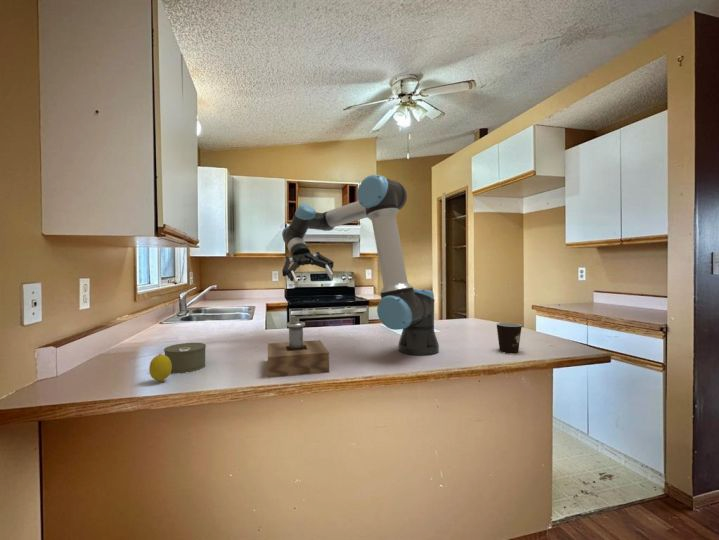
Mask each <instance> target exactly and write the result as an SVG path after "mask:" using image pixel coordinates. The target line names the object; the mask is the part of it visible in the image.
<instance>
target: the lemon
mask: <svg viewBox="0 0 719 540" xmlns="http://www.w3.org/2000/svg"><path fill="white" fill-rule="evenodd" d="M148 368H149V369H148V371H149V375H150V377H151V378H152V379H153V380H156V381H158V382H159V383H161V382H163V381H164V380H166V379H167V378H168V377H169V376H170V375H171V374H172V373H171V370H172V364H171V360H170V359H169V357H167V356H166V355H165V354H162V353H159V354H157V355H156V356H154V357H153V358H152V359H151V361H150V363H149V367H148Z"/></svg>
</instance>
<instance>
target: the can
mask: <svg viewBox="0 0 719 540" xmlns="http://www.w3.org/2000/svg"><path fill="white" fill-rule="evenodd" d="M206 347H207V345H206V344H205V343H203V342H185V343H177V344H173V345H169V346H166V347H165V348H164V349H163V351H164V355H166V356H167V357H169V359H170V360H171V364H172V370H171V373H170V374H173V373H180V374H187V373H186V372H189V373H194V372H196V371H197V370H198V371H201V370H203V369H204V368H205V367H206ZM202 368H203V369H202ZM200 369H201V370H200ZM193 371H194V372H193ZM198 371H197V372H198Z"/></svg>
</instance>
